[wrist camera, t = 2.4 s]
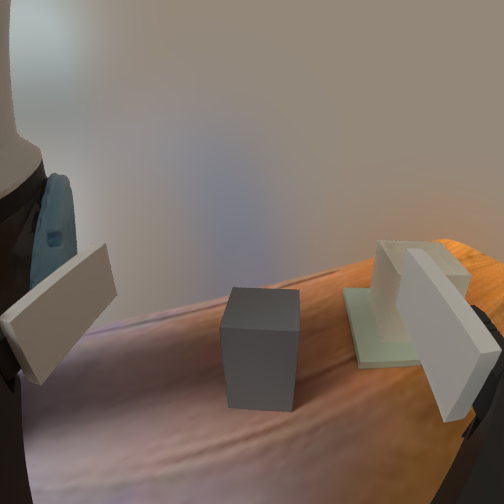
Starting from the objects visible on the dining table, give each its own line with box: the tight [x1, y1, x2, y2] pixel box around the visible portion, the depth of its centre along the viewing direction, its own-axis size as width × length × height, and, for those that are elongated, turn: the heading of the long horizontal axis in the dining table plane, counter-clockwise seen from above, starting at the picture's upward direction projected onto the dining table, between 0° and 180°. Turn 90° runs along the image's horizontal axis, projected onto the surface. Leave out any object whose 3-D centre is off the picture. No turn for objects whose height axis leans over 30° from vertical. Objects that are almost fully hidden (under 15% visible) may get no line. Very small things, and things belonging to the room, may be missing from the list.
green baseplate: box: [342, 288, 422, 369], centre depth 37 cm, size 16×16×1 cm
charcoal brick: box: [219, 287, 300, 412], centre depth 28 cm, size 6×6×10 cm
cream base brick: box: [368, 240, 472, 343], centre depth 35 cm, size 10×10×9 cm
